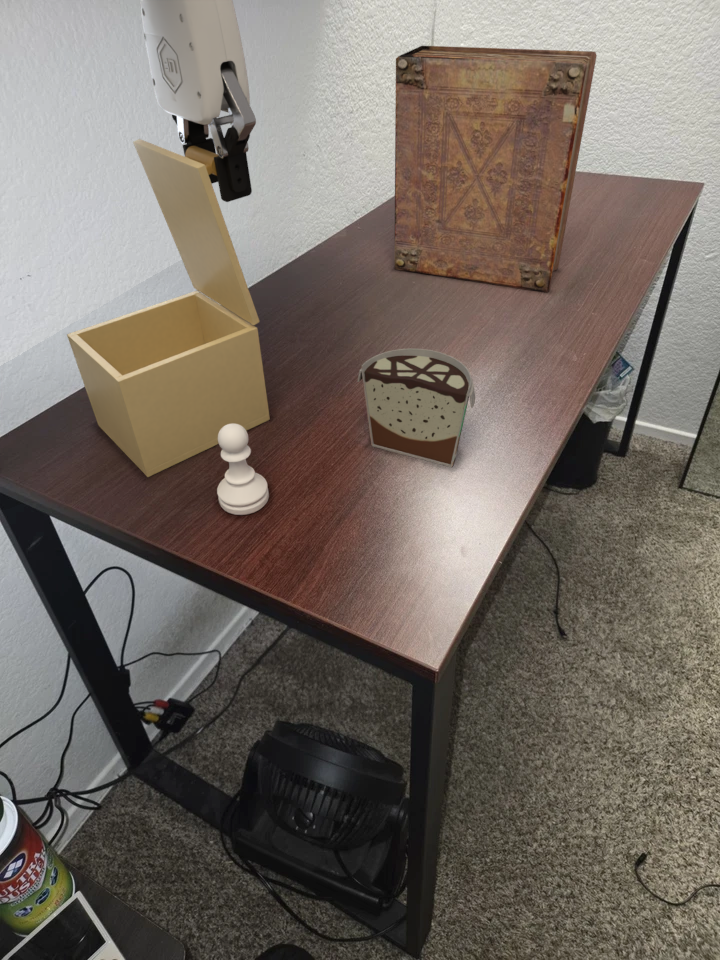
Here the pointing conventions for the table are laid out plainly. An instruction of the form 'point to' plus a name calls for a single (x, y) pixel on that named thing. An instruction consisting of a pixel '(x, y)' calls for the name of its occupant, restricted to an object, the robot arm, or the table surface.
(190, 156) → the lid
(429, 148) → the book
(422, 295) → the table surface
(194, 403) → the light wooden open box
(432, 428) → the food container
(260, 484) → the chess pawn
